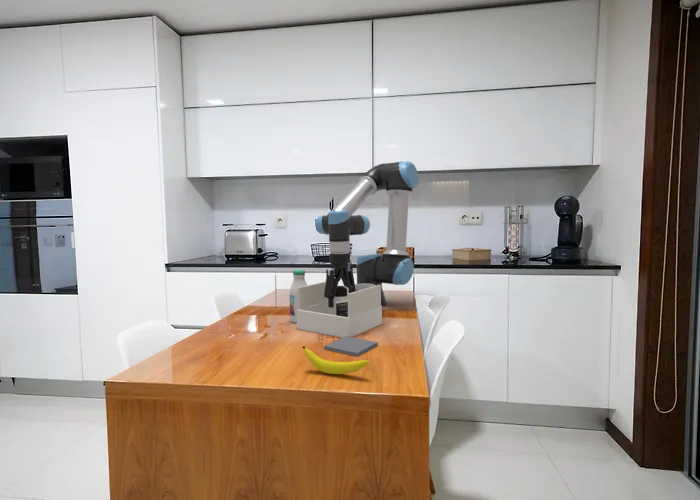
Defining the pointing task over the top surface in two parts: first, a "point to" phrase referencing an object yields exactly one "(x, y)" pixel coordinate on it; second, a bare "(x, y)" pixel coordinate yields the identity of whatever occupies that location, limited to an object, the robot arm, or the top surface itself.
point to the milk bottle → (296, 293)
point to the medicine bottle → (341, 301)
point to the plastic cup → (363, 286)
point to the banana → (334, 364)
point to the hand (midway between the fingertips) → (340, 312)
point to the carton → (317, 319)
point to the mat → (351, 346)
